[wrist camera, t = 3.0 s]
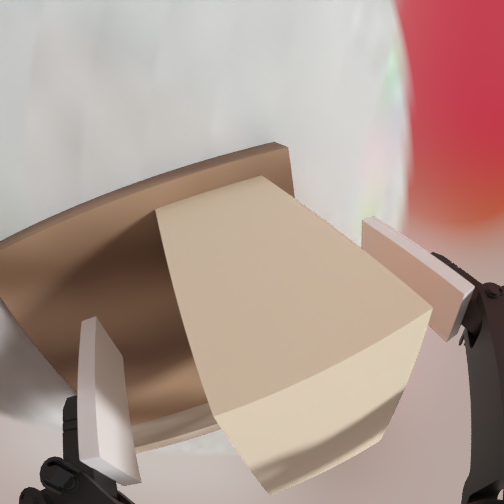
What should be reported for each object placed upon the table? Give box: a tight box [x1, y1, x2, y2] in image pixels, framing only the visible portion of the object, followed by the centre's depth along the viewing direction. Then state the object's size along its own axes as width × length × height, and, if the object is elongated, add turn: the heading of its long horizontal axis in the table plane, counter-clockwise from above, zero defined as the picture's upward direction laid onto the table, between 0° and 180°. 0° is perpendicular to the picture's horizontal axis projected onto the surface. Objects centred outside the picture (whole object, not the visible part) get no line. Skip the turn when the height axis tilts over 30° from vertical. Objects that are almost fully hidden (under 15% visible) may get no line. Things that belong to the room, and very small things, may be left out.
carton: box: [155, 175, 433, 495], centre depth 12 cm, size 8×5×10 cm, turn 11°
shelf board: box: [0, 142, 295, 453], centre depth 17 cm, size 17×16×4 cm
